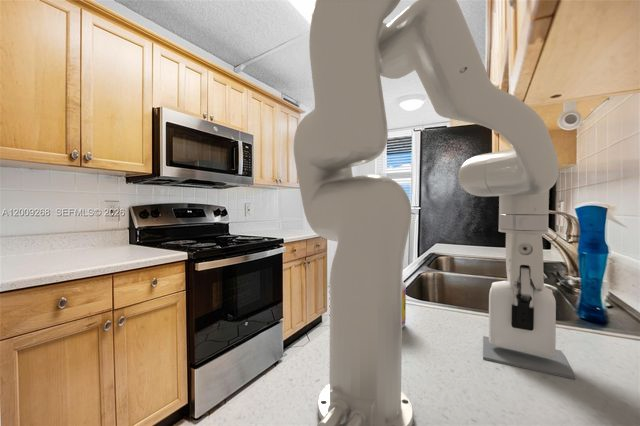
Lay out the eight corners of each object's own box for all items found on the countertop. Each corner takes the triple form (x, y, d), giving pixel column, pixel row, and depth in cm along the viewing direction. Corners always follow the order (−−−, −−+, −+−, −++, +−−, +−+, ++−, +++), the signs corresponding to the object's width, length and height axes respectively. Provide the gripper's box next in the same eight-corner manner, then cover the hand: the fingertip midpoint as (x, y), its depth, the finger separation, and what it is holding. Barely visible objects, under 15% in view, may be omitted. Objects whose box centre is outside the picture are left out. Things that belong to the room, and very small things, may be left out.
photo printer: (486, 345, 57) (487, 280, 56) (489, 337, 60) (490, 275, 60) (556, 362, 51) (557, 289, 50) (554, 352, 54) (556, 283, 54)
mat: (575, 379, 48) (575, 376, 48) (483, 359, 54) (483, 356, 54) (561, 352, 57) (561, 350, 57) (483, 337, 63) (483, 335, 63)
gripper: (558, 228, 46) (555, 346, 46) (540, 223, 60) (538, 312, 61) (500, 226, 49) (498, 336, 50) (497, 221, 64) (495, 306, 64)
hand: (520, 322), depth 55 cm, fingers closed on photo printer, 4 cm apart
